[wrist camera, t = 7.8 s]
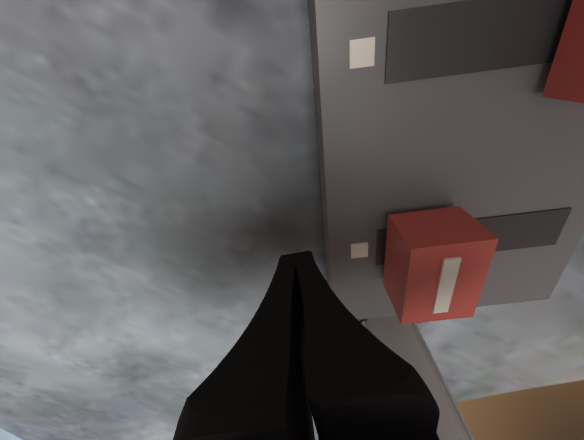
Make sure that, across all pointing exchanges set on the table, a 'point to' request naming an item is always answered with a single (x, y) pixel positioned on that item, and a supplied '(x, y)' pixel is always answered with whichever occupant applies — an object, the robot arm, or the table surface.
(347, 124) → the slider switch panel
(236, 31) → the table surface
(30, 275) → the table surface
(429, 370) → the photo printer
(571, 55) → the switch
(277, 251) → the table surface
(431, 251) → the switch
